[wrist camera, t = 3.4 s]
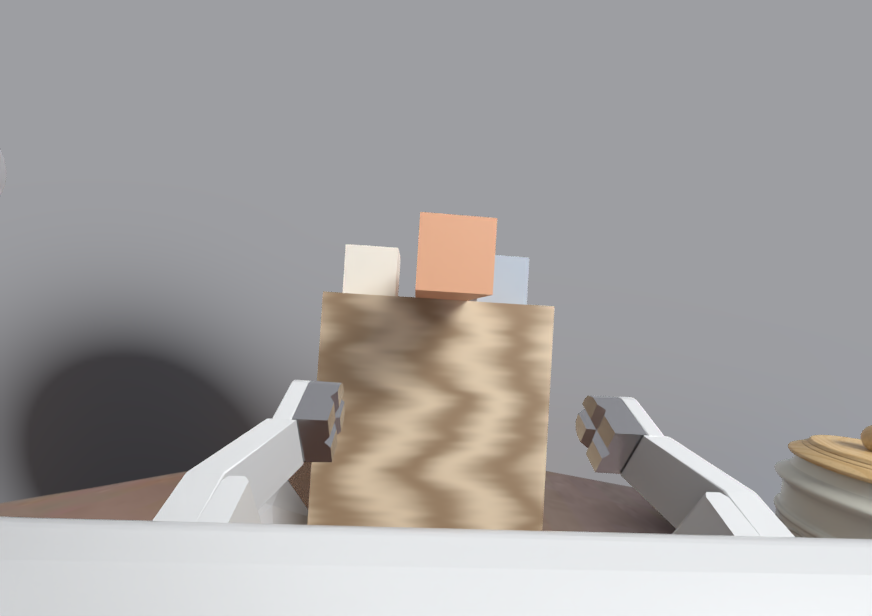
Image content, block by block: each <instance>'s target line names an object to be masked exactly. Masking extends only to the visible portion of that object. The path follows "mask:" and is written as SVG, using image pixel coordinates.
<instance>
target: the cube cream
mask: <svg viewBox="0 0 872 616" xmlns="http://www.w3.org/2000/svg"><path fill="white" fill-rule="evenodd" d="M399 273H400V253H399V249H398V248H391V247H376V246H364V245H350V244H346V250H345V265H344V281H343V293H352V294H368V295H383V296H398V289H399V288H398V287H399Z"/></svg>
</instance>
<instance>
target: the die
mask: <svg viewBox="0 0 872 616" xmlns="http://www.w3.org/2000/svg"><path fill="white" fill-rule="evenodd" d="M258 513H259V516H260V520H261V523H262V524H295V525H307V522H308V509H307V507H306V506H305V504H304V503H303V502H302V500H301V499H300V497H299V496H298V494H297V493H296V491H295V490H294V488H293V487H292V486H291V484H290V483H289V481H288V480H287V481H286V482H285V483H284V484H283V485H282V486H281V487H280V488H279V489H278V490H277V491H276V493H275V494H274V495H273V496H272V497H271V498H270V499H269V500H268V501H267V502H266V503H265V504H264V505H263V506H262V507H261V508H260V509H259V510H258Z"/></svg>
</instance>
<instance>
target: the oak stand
mask: <svg viewBox="0 0 872 616" xmlns="http://www.w3.org/2000/svg"><path fill="white" fill-rule="evenodd" d="M553 322H554V307H553V306H538V305H523V304H507V303H492V302H476V301H461V300H445V299H430V298H414V297H399V296H383V295H368V294H352V293H336V292H323V302H322V316H321V332H320V346H319V361H318V375H317V381H324V382H337V383H342V384H343V389H344V393H343V396H342V400H343V401H344V402H345V415H344V421H343V426H342V430H341V432H340V433H339V434H338V435H337V443H338V444H337V447H336V451H335V454H334V457H333V461H332V462H312V463H311V478H310V492H309V507H308V522H307V525H334V526H373V527H412V528H451V529H489V530H529V531H542V524H543V506H544V488H545V469H546V449H547V433H548V414H549V395H550V378H551V377H550V376H551V358H552V341H553Z"/></svg>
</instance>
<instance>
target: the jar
mask: <svg viewBox="0 0 872 616" xmlns="http://www.w3.org/2000/svg"><path fill="white" fill-rule="evenodd" d="M788 448H789V450H790V451H791V452H792V453H794V456H793V457H792V458H791V459H786V460H782V461H779V462H777V463H776V464H775V470H776V472H777V473H778V475H779V476H780V477H781V478H782V487H781V493H778V494H777V495H776V496H775V497H774V504H775V507H776V514H775V515H776V516H777V517H778V518H779V520H780V521H781V522H782V523H783V524H784V525H785V526H786V527H787V529H788V530H789V531H790V532H791V533H792V534H793V535H794V536H795V537H806V538H846V539H872V425H871V426H868V427H866V428H865V429H864V430H863V431H862V433H861V440H860V439H854V438H848V437H840V436H830V435H814V436H811V437H810V438H808V439H804V440H797V441H793V442H790V443H789V444H788Z"/></svg>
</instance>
